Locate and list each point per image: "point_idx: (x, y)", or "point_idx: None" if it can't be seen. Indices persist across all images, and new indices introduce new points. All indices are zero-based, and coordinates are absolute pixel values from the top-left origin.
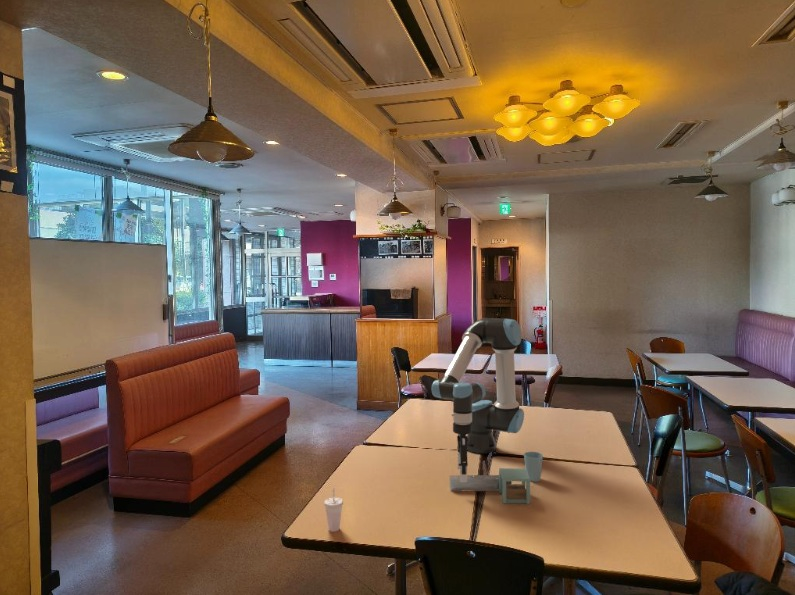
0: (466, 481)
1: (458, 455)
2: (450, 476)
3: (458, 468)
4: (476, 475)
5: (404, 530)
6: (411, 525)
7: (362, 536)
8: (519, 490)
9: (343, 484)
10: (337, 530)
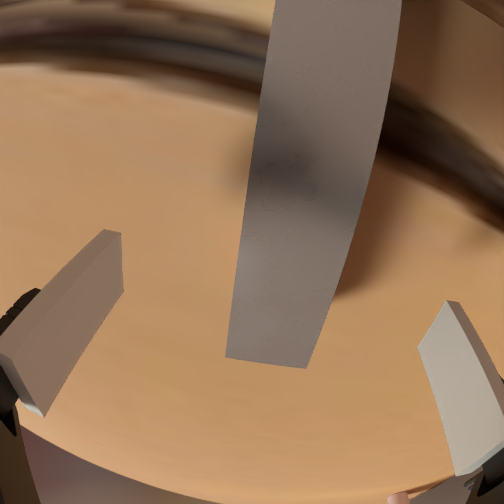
0: (458, 310)
1: (52, 391)
2: (248, 358)
3: (120, 288)
4: (264, 122)
5: None
6: None
7: (448, 471)
8: None
9: (192, 489)
10: (406, 492)
